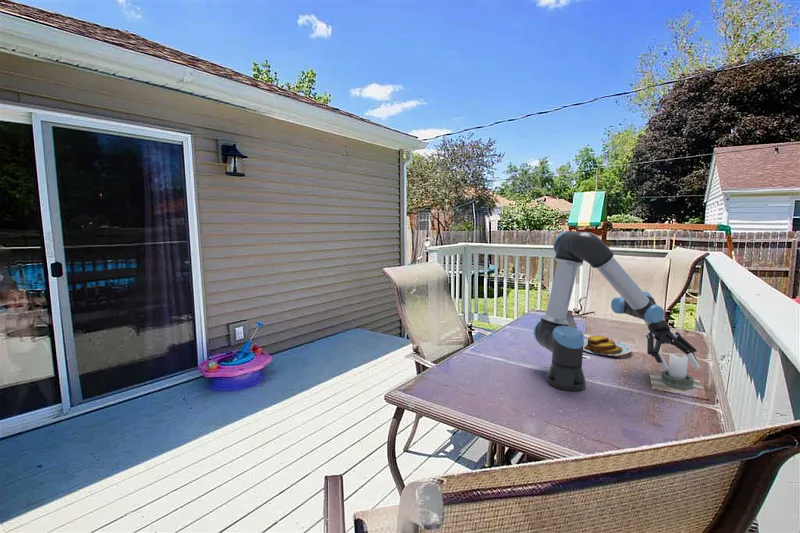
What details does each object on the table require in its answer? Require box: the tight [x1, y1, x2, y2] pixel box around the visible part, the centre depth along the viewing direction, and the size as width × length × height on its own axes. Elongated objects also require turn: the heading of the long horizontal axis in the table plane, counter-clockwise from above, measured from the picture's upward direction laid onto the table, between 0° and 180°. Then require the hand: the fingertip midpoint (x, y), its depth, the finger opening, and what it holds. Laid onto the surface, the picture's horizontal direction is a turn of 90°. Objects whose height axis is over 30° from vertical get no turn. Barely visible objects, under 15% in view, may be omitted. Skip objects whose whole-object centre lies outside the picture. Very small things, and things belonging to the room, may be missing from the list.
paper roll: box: [667, 352, 689, 380], centre depth 151 cm, size 6×6×12 cm
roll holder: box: [648, 370, 705, 393], centre depth 151 cm, size 18×18×4 cm
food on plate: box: [583, 335, 633, 359], centre depth 195 cm, size 25×25×7 cm
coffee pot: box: [566, 309, 596, 329], centre depth 226 cm, size 21×12×15 cm, turn 49°
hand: (681, 369), depth 149 cm, fingers open, 13 cm apart
